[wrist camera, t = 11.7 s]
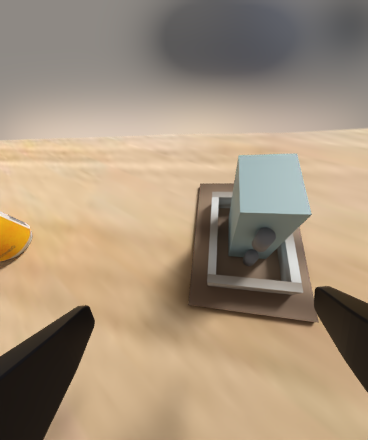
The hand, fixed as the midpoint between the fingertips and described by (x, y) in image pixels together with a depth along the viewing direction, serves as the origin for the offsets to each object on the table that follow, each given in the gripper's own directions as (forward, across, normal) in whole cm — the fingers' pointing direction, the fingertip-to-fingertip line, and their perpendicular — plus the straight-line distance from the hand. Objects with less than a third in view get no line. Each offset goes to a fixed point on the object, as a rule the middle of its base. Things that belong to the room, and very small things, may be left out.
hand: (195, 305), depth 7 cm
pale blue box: (+14, -6, +3) cm, 15 cm away
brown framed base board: (+14, -6, +4) cm, 16 cm away
